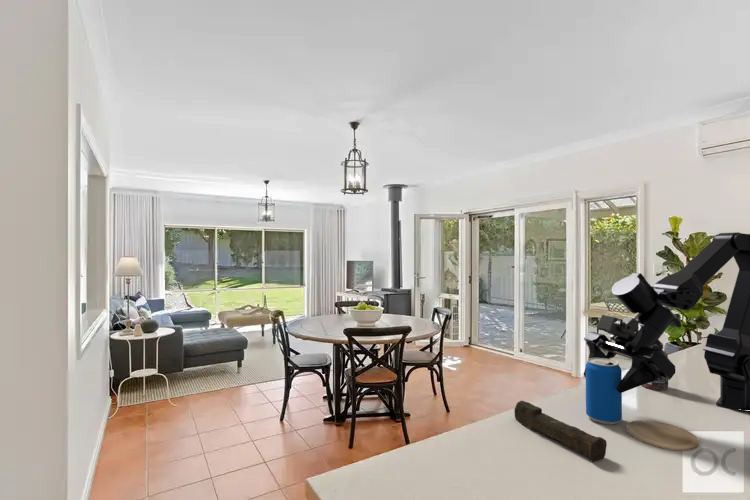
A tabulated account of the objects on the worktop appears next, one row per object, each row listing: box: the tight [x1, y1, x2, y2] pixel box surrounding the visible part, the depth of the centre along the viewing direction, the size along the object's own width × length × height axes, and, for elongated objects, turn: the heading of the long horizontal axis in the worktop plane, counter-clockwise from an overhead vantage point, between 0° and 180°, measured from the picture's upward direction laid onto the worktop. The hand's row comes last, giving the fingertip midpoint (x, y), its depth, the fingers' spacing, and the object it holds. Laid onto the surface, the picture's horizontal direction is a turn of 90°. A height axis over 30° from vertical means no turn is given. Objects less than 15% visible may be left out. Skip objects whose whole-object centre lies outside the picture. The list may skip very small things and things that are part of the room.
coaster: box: [626, 419, 700, 452], centre depth 75 cm, size 11×11×1 cm
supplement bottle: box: [641, 342, 669, 391], centre depth 102 cm, size 6×6×11 cm
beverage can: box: [585, 357, 623, 425], centre depth 83 cm, size 6×6×12 cm
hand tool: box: [514, 400, 608, 463], centre depth 75 cm, size 19×4×5 cm, turn 24°
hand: (600, 383), depth 83 cm, fingers open, 9 cm apart
